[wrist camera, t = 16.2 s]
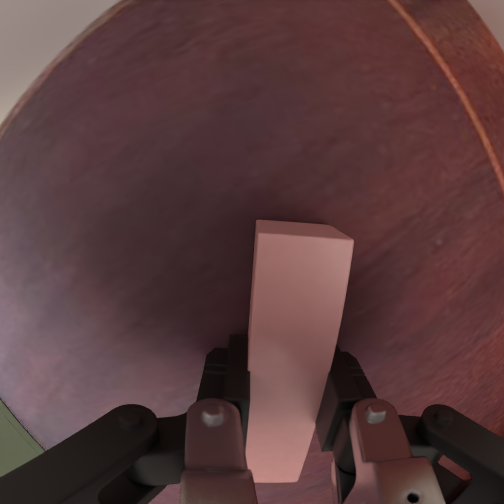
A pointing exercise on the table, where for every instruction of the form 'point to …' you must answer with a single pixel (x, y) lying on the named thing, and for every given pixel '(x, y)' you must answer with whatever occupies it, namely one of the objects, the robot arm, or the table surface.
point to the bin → (14, 443)
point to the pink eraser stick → (291, 339)
